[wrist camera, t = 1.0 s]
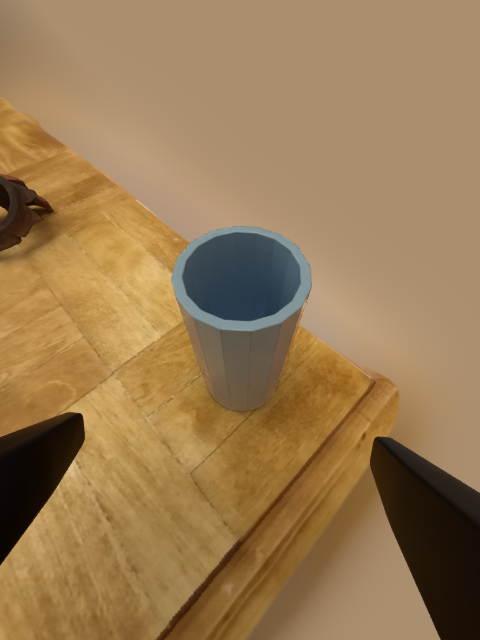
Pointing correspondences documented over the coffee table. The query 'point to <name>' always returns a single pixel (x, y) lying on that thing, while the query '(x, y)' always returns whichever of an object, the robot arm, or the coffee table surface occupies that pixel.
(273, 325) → the tall blue mug
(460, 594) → the robot arm
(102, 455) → the coffee table surface
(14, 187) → the brown hollow shell
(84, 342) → the coffee table surface
